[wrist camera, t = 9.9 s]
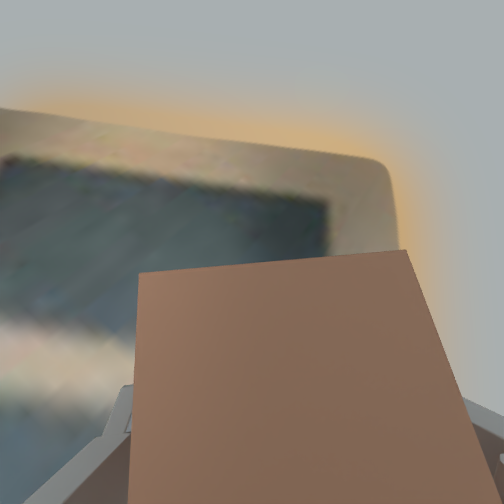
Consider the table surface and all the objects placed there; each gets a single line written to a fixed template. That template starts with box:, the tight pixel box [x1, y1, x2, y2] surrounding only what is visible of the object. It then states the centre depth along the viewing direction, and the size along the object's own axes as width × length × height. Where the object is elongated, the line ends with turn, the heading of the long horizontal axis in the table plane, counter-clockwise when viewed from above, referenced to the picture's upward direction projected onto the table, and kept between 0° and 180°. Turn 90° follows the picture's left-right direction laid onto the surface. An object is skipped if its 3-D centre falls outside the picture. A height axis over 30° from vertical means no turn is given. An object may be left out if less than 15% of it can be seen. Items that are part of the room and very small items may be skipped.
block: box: [128, 250, 502, 504], centre depth 9 cm, size 5×5×10 cm
